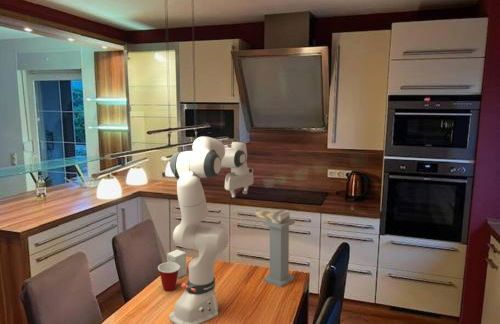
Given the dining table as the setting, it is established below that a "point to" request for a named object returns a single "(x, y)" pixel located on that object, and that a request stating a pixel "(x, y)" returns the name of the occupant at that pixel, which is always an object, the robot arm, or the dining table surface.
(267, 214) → the mallet
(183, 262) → the supplement box
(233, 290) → the dining table surface
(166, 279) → the plastic cup
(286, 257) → the pedestal shelf
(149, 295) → the dining table surface
